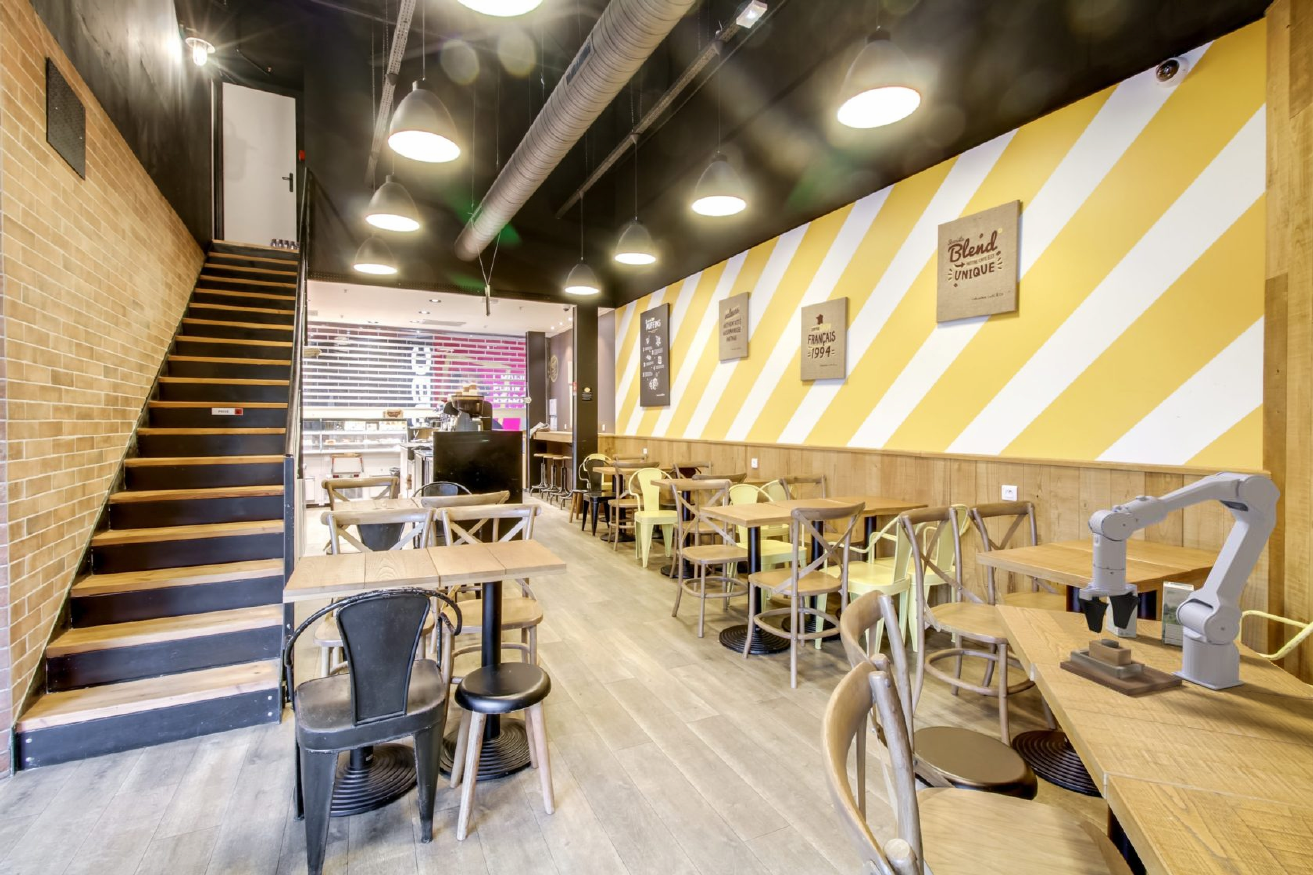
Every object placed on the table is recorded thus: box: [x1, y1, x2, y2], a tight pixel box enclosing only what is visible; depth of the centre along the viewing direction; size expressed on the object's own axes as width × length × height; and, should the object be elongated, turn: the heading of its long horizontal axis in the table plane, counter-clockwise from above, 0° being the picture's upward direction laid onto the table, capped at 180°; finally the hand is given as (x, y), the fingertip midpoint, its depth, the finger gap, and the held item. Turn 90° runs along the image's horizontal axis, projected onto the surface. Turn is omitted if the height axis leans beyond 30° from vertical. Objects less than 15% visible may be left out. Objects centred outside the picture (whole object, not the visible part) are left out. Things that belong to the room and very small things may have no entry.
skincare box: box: [1105, 590, 1139, 639], centre depth 153 cm, size 6×4×12 cm
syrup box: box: [1161, 580, 1195, 648], centre depth 147 cm, size 6×6×14 cm
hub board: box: [1059, 648, 1183, 696], centre depth 128 cm, size 16×14×3 cm
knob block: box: [1088, 638, 1132, 667], centre depth 129 cm, size 4×6×6 cm
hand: (1107, 629), depth 129 cm, fingers open, 7 cm apart
